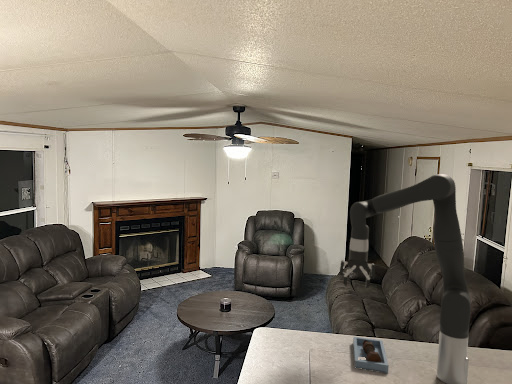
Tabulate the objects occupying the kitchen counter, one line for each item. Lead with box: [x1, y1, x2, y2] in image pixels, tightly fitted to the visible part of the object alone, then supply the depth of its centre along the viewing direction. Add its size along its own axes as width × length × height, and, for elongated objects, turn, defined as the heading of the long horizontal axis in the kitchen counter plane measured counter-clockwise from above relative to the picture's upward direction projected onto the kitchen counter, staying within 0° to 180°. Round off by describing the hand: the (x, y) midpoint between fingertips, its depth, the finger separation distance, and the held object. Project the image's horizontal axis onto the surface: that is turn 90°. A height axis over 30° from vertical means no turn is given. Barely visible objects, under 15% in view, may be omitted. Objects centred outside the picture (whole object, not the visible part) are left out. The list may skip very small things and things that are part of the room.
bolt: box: [362, 340, 382, 363], centre depth 149 cm, size 6×5×15 cm
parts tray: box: [352, 336, 390, 374], centre depth 150 cm, size 12×21×3 cm, turn 167°
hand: (356, 286), depth 158 cm, fingers open, 8 cm apart
